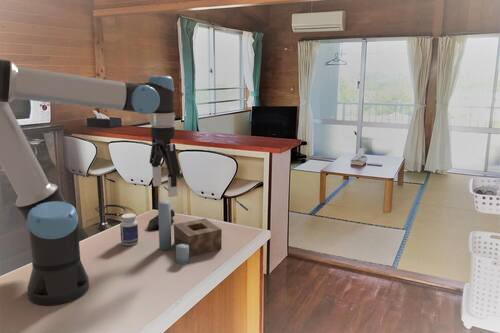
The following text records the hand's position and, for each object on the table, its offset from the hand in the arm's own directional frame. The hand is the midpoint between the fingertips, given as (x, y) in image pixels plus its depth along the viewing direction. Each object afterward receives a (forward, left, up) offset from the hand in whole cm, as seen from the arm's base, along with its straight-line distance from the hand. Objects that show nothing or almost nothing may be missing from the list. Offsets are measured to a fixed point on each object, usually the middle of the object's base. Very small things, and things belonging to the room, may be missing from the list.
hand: (164, 190), depth 139 cm
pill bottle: (-9, +10, -20) cm, 24 cm away
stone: (+6, +20, -20) cm, 29 cm away
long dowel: (0, 0, -20) cm, 20 cm away
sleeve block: (+10, -4, -20) cm, 23 cm away
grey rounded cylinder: (+1, -12, -20) cm, 23 cm away
